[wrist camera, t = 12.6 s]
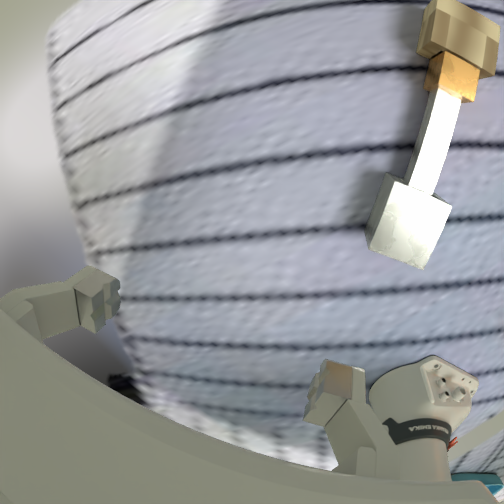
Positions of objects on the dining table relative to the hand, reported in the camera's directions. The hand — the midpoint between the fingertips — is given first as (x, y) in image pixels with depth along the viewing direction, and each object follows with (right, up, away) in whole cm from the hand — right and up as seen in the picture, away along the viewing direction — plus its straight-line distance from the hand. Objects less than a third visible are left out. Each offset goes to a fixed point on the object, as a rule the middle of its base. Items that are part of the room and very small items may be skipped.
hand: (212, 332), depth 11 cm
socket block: (+25, +28, +13) cm, 40 cm away
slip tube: (+23, +19, +18) cm, 34 cm away
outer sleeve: (+20, +8, +24) cm, 32 cm away
